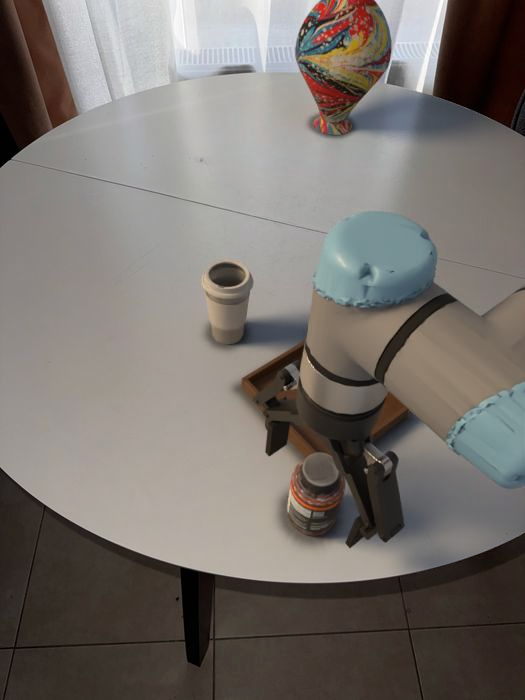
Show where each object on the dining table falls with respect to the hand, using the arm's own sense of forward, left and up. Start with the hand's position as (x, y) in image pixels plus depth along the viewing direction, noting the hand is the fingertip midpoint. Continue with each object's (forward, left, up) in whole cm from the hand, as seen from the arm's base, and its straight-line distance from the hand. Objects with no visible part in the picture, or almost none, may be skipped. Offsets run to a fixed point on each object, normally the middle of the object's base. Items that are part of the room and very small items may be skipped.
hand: (314, 491), depth 65 cm
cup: (+29, -9, -6) cm, 31 cm away
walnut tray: (+11, -12, -5) cm, 17 cm away
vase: (+64, -63, -6) cm, 90 cm away
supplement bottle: (0, 0, -6) cm, 6 cm away
